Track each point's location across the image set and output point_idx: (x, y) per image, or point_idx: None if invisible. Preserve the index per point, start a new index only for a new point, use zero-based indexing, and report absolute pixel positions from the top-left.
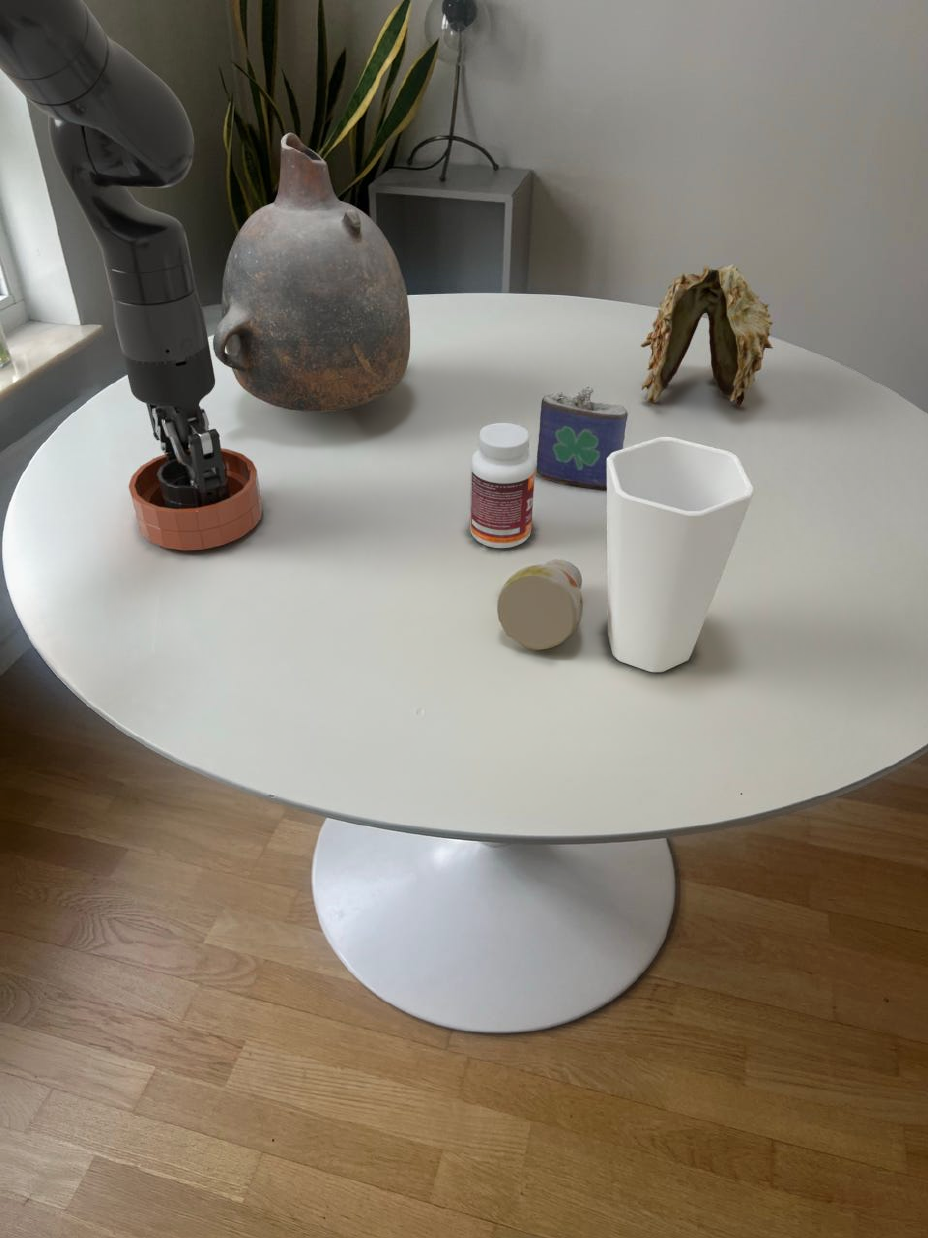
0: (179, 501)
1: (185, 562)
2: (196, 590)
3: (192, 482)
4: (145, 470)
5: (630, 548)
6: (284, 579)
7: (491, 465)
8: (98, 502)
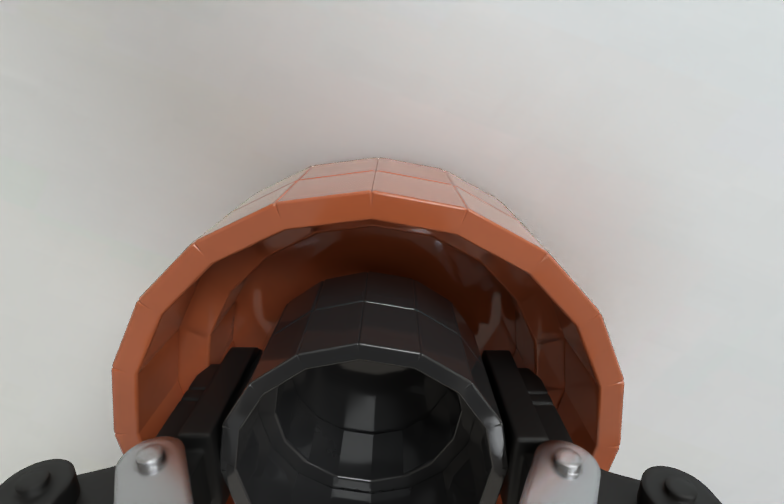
0: (272, 338)
1: (188, 219)
2: (32, 194)
3: (139, 464)
4: (565, 314)
5: None
6: (8, 393)
7: None
8: (693, 99)
